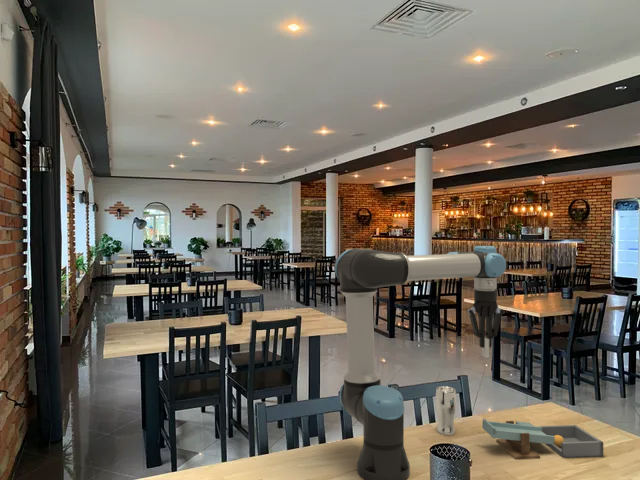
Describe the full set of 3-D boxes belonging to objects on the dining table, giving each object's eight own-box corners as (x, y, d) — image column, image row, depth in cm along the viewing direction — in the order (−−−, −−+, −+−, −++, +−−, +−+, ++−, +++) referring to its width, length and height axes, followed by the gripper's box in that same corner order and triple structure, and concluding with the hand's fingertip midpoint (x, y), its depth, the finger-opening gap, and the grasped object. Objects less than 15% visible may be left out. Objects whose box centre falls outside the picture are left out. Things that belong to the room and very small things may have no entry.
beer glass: (433, 433, 167) (433, 390, 167) (438, 426, 174) (438, 385, 173) (453, 437, 164) (453, 393, 164) (458, 429, 170) (457, 387, 170)
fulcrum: (515, 459, 147) (515, 435, 147) (496, 441, 160) (496, 420, 160) (540, 458, 148) (540, 435, 148) (519, 440, 161) (519, 419, 161)
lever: (493, 438, 149) (494, 428, 149) (473, 419, 164) (474, 411, 164) (554, 444, 151) (555, 435, 151) (529, 425, 166) (530, 417, 166)
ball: (554, 445, 153) (559, 435, 153) (548, 441, 157) (552, 431, 157) (563, 450, 154) (568, 440, 154) (557, 445, 157) (562, 436, 157)
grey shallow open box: (563, 458, 148) (563, 443, 148) (539, 439, 162) (539, 426, 162) (603, 456, 149) (603, 442, 149) (575, 438, 163) (575, 424, 163)
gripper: (471, 291, 165) (471, 359, 165) (508, 290, 166) (508, 358, 166) (463, 288, 172) (463, 354, 172) (498, 288, 173) (498, 353, 173)
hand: (485, 356), depth 169 cm, fingers closed
